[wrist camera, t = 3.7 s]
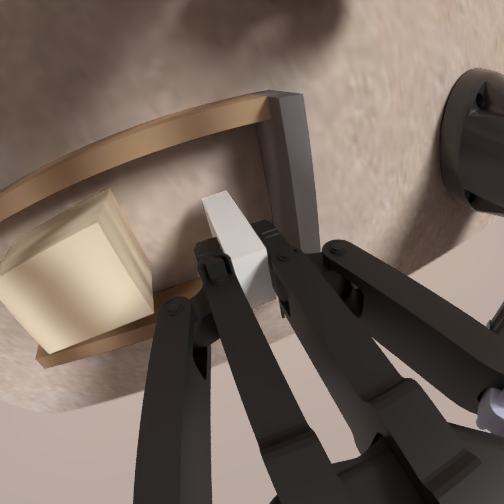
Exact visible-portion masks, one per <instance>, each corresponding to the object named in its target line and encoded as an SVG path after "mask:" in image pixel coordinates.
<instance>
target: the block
mask: <svg viewBox="0 0 504 504" xmlns="http://www.w3.org/2000/svg"><path fill="white" fill-rule="evenodd" d="M0 300H1V301H2V303H3V304H4V305H5V306H6V308H7V309H8V310H9V311H10V312H11V314H12V315H13V316H14V317H15V318H16V319H17V321H18V322H19V323H20V324H21V325H22V326H23V327H24V328H25V330H26V331H27V332H28V333H29V334H30V335H31V336H32V337H33V338H34V339H35V340H36V341H37V342H38V343H39V344H40V345H41V347H42V348H43V349H44V350H45V351H46V352H47V353H48V354H51V353H54V352H56V351H59V350H62V349H64V348H67V347H69V346H72V345H75V344H77V343H80V342H82V341H85V340H88V339H90V338H93V337H95V336H98V335H100V334H103V333H105V332H108V331H111V330H113V329H116V328H118V327H121V326H123V325H126V324H128V323H131V322H133V321H136V320H138V319H141V318H143V317H146V316H148V315H151V314H153V313H154V304H153V290H152V273H151V264H150V262H149V260H148V258H147V257H146V255H145V253H144V251H143V250H142V248H141V246H140V244H139V242H138V240H137V239H136V237H135V235H134V233H133V231H132V229H131V227H130V226H129V224H128V222H127V220H126V218H125V216H124V214H123V212H122V210H121V208H120V206H119V204H118V202H117V200H116V198H115V196H114V194H113V192H112V190H111V188H108V189H106V190H104V191H102V192H100V193H98V194H96V195H94V196H92V197H90V198H88V199H86V200H84V201H83V202H81V203H79V204H77V205H75V206H73V207H71V208H70V209H68V210H66V211H64V212H62V213H61V214H59V215H57V216H55V217H54V218H52V219H50V220H49V221H47V222H45V223H43V224H42V225H40V226H38V227H37V228H35V229H33V230H32V231H30V232H29V233H27V234H25V235H24V236H22V237H21V238H19V239H18V240H16V241H15V242H14V243H13V245H12V246H11V248H10V249H9V251H8V252H7V254H6V256H5V257H4V259H3V260H2V262H1V264H0Z"/></svg>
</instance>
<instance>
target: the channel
mask: <svg viewBox="0 0 504 504" xmlns="http://www.w3.org/2000/svg"><path fill="white" fill-rule="evenodd" d="M252 123H255V126H256V131H257V136H258V141H259V146H260V151H261V157H262V162H263V167H264V172H265V178H266V183H267V188H268V194H269V199H270V205H271V210H272V216H273V222H274V226H275V227H276V229H277V230H278V231H279V232H280V233H281V234H282V236H283V237H284V238H285V239H286V241H287V242H288V243H289V244H290V245H291V246H293V247H297V248H299V249H300V250H302V252H303V253H307V254H308V253H318V252H321V251H320V237H319V224H318V213H317V202H316V192H315V182H314V173H313V164H312V156H311V148H310V140H309V132H308V125H307V118H306V111H305V105H304V98H303V94H299V93H290V92H281V91H271V90H267V91H262V92H257V93H252V94H247V95H242V96H238V97H233V98H229V99H225V100H221V101H217V102H213V103H209V104H205V105H201V106H198V107H194V108H191V109H187V110H184V111H180V112H177V113H174V114H171V115H167V116H164V117H161V118H158V119H155V120H152V121H149V122H146V123H144V124H141V125H138V126H135V127H132V128H130V129H127V130H124V131H122V132H119V133H117V134H114V135H112V136H109V137H107V138H104V139H102V140H99V141H97V142H95V143H92V144H90V145H88V146H85V147H83V148H81V149H79V150H76V151H74V152H72V153H70V154H68V155H66V156H64V157H62V158H60V159H58V160H55V161H53V162H51V163H50V164H48V165H46V166H44V167H42V168H40V169H38V170H36V171H34V172H32V173H30V174H29V175H27V176H25V177H23V178H21V179H20V180H18V181H16V182H15V183H13V184H11V185H9V186H8V187H6V188H4V189H3V190H1V191H0V222H1V221H3V220H4V219H6V218H8V217H10V216H11V215H13V214H15V213H17V212H19V211H21V210H22V209H24V208H26V207H28V206H30V205H32V204H34V203H36V202H38V201H40V200H42V199H44V198H46V197H48V196H50V195H52V194H54V193H56V192H58V191H60V190H62V189H64V188H67V187H69V186H71V185H73V184H75V183H77V182H80V181H82V180H84V179H87V178H89V177H91V176H94V175H96V174H98V173H101V172H103V171H106V170H108V169H111V168H113V167H116V166H118V165H121V164H123V163H126V162H128V161H131V160H134V159H136V158H139V157H142V156H145V155H147V154H150V153H153V152H156V151H159V150H162V149H165V148H168V147H171V146H174V145H177V144H180V143H183V142H187V141H190V140H193V139H196V138H200V137H203V136H207V135H210V134H214V133H217V132H221V131H224V130H228V129H232V128H236V127H240V126H244V125H248V124H252ZM202 286H203V282H202V280H201V278H198V279H195V280H192V281H189V282H186V283H184V284H181V285H178V286H175V287H172V288H169V289H166V290H163V291H160V292H157V293H154V294H153V304H154V313H153V314H151V315H148V316H146V317H143V318H141V319H138V320H136V321H133V322H131V323H128V324H126V325H123V326H121V327H118V328H116V329H113V330H111V331H108V332H105V333H103V334H100V335H98V336H95V337H93V338H90V339H88V340H85V341H82V342H80V343H77V344H75V345H72V346H69V347H67V348H64V349H62V350H59V351H56V352H54V353H51V354H48V353H47V352H46V351H45V350H44V349H43V348H42V347H41V345H40V344H39V346H38V350H37V355H36V360H37V361H38V362H39V363H40V364H41V365H42V366H43V367H44V368H45V369H46V368H49V367H53V366H57V365H61V364H65V363H68V362H72V361H76V360H79V359H83V358H87V357H90V356H94V355H97V354H101V353H104V352H107V351H111V350H114V349H118V348H121V347H124V346H128V345H131V344H134V343H138V342H141V341H144V340H147V339H150V338H154V332H155V327H156V322H157V317H158V312H159V309H160V307H161V305H162V304H163V303H164V302H165V301H167V300H168V299H170V298H173V297H176V296H183V297H186V298H188V299H190V298H192V297H193V296H195V295H196V294H197V293H198V292H199V291H200V290H201V288H202ZM275 295H277V294H276V292H275Z"/></svg>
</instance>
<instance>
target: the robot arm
mask: <svg viewBox="0 0 504 504" xmlns="http://www.w3.org/2000/svg"><path fill="white" fill-rule="evenodd" d="M440 162H441V171H442V176H443V180H444V183H445V186H446V188H447V190H448V192H449V194H450V195H451V196H452V198H453V199H455V200H456V201H458V202H459V203H461V204H463V205H464V206H466V207H468V208H469V209H471V210H474V211H477V212H482V213H487V214H492V215H497V216H502V217H504V75H503V74H500V73H498V72H495V71H491V70H486V69H481V68H474V69H471V70H469V71H467V72H466V73H465V74H464V75H462V77H461V78H460V79H459V80H458V82H457V83H456V85H455V87H454V88H453V90H452V93H451V95H450V97H449V100H448V103H447V106H446V110H445V114H444V118H443V123H442V130H441V139H440ZM201 200H202V203H203V206H204V210H205V213H206V216H207V220H208V223H209V226H210V229H211V233H212V236H213V238H211V239H208V240H205V241H202V242H199V243H197V244H196V247H195V250H194V251H195V254H196V258H197V261H198V272H199V274H200V277H201V280H202V282H203V286H202V288H201V290H200V291H199V292H198V293H197V294H196V295H195V296H193V297H192V298H190V299H188V298H186V297H183V296H176V297H173V298H170V299H168V300H167V301H165V302H164V303H163V304H162V305H161V307H160V309H159V312H158V317H157V322H156V327H155V332H154V338H153V343H152V349H151V354H150V360H149V366H148V372H147V379H146V385H145V392H144V399H143V406H142V414H141V421H140V430H139V439H138V448H137V458H136V469H135V482H134V497H133V498H134V499H133V504H212V483H211V436H210V435H211V432H210V431H211V430H210V427H211V426H210V388H211V386H210V385H211V384H210V383H211V382H210V381H211V379H210V378H211V345H210V344H212V343H213V342H215V341H216V340H218V339H219V338H220V339H221V342H222V345H223V348H224V351H225V354H226V357H227V360H228V362H229V365H230V368H231V371H232V374H233V377H234V380H235V383H236V385H237V388H238V391H239V394H240V396H241V399H242V402H243V405H244V407H245V410H246V413H247V416H248V418H249V421H250V424H251V426H252V429H253V431H254V434H255V437H256V439H257V442H258V445H259V448H260V453H261V456H262V458H263V461H264V463H265V466H266V468H267V471H268V473H269V475H270V478H271V481H272V483H273V485H274V488H275V490H276V492H277V495H276V496H275V497H274V498H273V500H272V501H271V502H270V504H504V302H503V303H502V305H501V307H500V308H499V310H498V311H497V313H496V314H495V316H494V317H493V319H492V320H490V321H489V322H488V323H487V325H486V326H484V325H482V324H481V323H480V322H478V321H477V320H475V319H474V318H472V317H471V316H469V315H468V314H466V313H465V312H463V311H462V310H460V309H459V308H457V307H456V306H454V305H452V304H451V303H449V302H448V301H446V300H445V299H443V298H442V297H440V296H438V295H437V294H435V293H434V292H432V291H431V290H429V289H427V288H426V287H424V286H423V285H421V284H419V283H418V282H416V281H414V280H413V279H411V278H410V277H408V276H406V275H405V274H403V273H401V272H400V271H398V270H396V269H395V268H393V267H391V266H390V265H388V264H386V263H385V262H383V261H381V260H380V259H378V258H376V257H374V256H373V255H371V254H369V253H368V252H366V251H364V250H362V249H361V248H359V247H357V246H355V245H354V244H352V243H350V242H348V241H345V240H332V241H329V242H327V243H326V244H325V245H323V248H322V252H318V253H308V254H307V253H303V252H302V250H300V249H299V248H297V247H293V246H291V245H290V244H289V243H288V242H287V241H286V239H285V238H284V237H283V236H282V234H281V233H280V232H279V231H278V230H277V229H276V227H275V226H274V225H273V223H271V222H269V221H266V220H263V221H260V222H256V223H253V224H249V222H248V221H247V219H246V218H245V217H244V215H243V214H242V212H241V211H240V209H239V208H238V206H237V205H236V203H235V202H234V200H233V199H232V198H231V196H230V195H229V193H228V192H227V190H225V191H222V192H219V193H216V194H213V195H210V196H207V197H204V198H201ZM275 292H276V294H277V296H278V298H279V304H280V309H281V315H282V318H285V316H286V317H287V319H288V321H289V323H290V324H291V326H292V328H293V330H294V331H295V333H296V335H297V337H298V338H299V340H300V342H301V344H302V345H303V347H304V349H305V350H306V352H307V354H308V356H309V358H310V359H311V361H312V363H313V365H314V366H315V368H316V369H317V372H318V373H319V375H320V377H321V378H322V380H323V382H324V384H325V386H326V387H327V389H328V390H329V392H330V394H331V396H332V398H333V399H334V401H335V403H336V404H337V406H338V408H339V410H340V412H341V413H342V415H343V417H344V419H345V420H346V422H347V424H348V426H349V427H350V429H351V431H352V433H353V436H354V440H355V443H356V446H357V448H358V450H359V452H360V454H361V456H359V457H358V458H354V459H351V460H347V461H342V462H337V463H333V464H331V462H330V460H329V458H328V456H327V455H326V452H325V451H324V449H323V447H322V445H321V443H320V441H319V439H318V437H317V436H316V434H315V432H314V431H313V430H312V429H311V428H310V427H309V425H308V424H307V422H306V420H305V418H304V416H303V414H302V412H301V410H300V408H299V406H298V404H297V402H296V400H295V398H294V396H293V394H292V392H291V390H290V388H289V385H288V383H287V381H286V379H285V377H284V375H283V373H282V371H281V369H280V367H279V365H278V363H277V361H276V359H275V357H274V355H273V353H272V351H271V348H270V346H269V344H268V342H267V340H266V338H265V336H264V334H263V332H262V330H261V328H260V325H259V323H258V321H257V319H256V317H255V315H254V313H253V311H252V309H251V308H252V307H255V306H258V305H260V304H263V303H266V302H269V301H271V300H274V299H276V296H275ZM284 314H285V316H284ZM372 338H374V339H375V340H376V341H377V342H379V343H380V344H381V345H382V346H384V347H385V348H386V349H388V350H389V351H390V352H391V353H392V354H394V355H395V356H396V357H398V358H399V359H400V360H401V361H403V362H404V363H405V364H406V365H408V366H409V367H410V368H411V369H413V370H414V371H415V372H416V373H418V374H419V375H420V376H421V377H423V378H424V379H425V380H426V381H428V382H429V383H430V384H431V385H433V386H434V387H435V388H436V389H438V390H439V391H440V392H442V393H443V394H444V395H445V396H447V397H448V398H449V399H450V400H452V401H453V402H454V403H456V404H457V405H459V406H460V407H462V408H464V409H466V410H468V411H470V412H472V413H475V414H477V415H478V418H477V421H476V423H477V426H478V427H479V428H480V429H482V430H484V429H487V430H489V431H490V432H491V433H487V432H483V431H479V430H475V429H471V428H467V427H464V426H459V425H456V424H452V423H449V422H447V421H446V420H445V419H444V417H443V416H442V415H441V413H440V412H439V410H438V409H437V408H436V406H435V405H434V403H433V402H432V401H431V400H430V398H429V397H428V395H427V394H426V393H425V392H424V390H423V389H422V387H421V386H420V385H419V384H418V383H417V382H416V381H415V380H413V379H411V378H403V377H401V375H400V374H399V373H398V372H397V370H396V369H395V368H394V366H393V365H392V364H391V363H390V361H389V360H388V359H387V357H386V356H385V354H384V353H383V352H382V350H381V349H380V348H379V346H378V345H377V344H376V343H375V341H374V340H373V339H372Z"/></svg>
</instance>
